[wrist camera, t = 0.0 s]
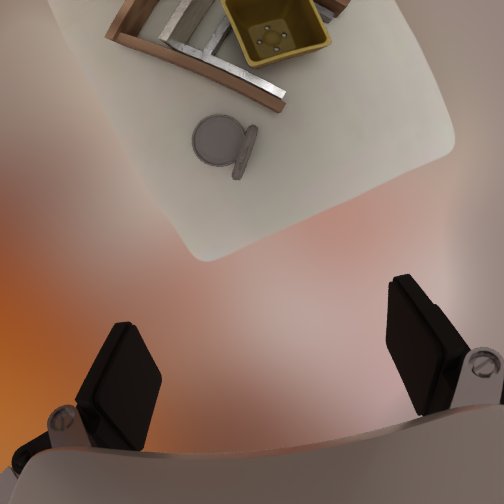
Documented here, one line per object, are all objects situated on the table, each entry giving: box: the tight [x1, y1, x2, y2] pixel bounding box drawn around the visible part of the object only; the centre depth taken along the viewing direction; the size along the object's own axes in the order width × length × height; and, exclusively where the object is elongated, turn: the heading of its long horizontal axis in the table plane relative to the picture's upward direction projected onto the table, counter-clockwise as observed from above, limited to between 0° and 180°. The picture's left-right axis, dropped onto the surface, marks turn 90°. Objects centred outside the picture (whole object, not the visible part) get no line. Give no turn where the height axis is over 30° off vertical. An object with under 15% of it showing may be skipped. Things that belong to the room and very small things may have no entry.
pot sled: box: [159, 0, 335, 100], centre depth 28 cm, size 14×15×7 cm
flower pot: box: [220, 0, 332, 69], centre depth 27 cm, size 9×9×9 cm
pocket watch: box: [192, 115, 258, 180], centre depth 33 cm, size 8×8×10 cm
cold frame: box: [105, 0, 351, 113], centre depth 28 cm, size 17×23×6 cm
